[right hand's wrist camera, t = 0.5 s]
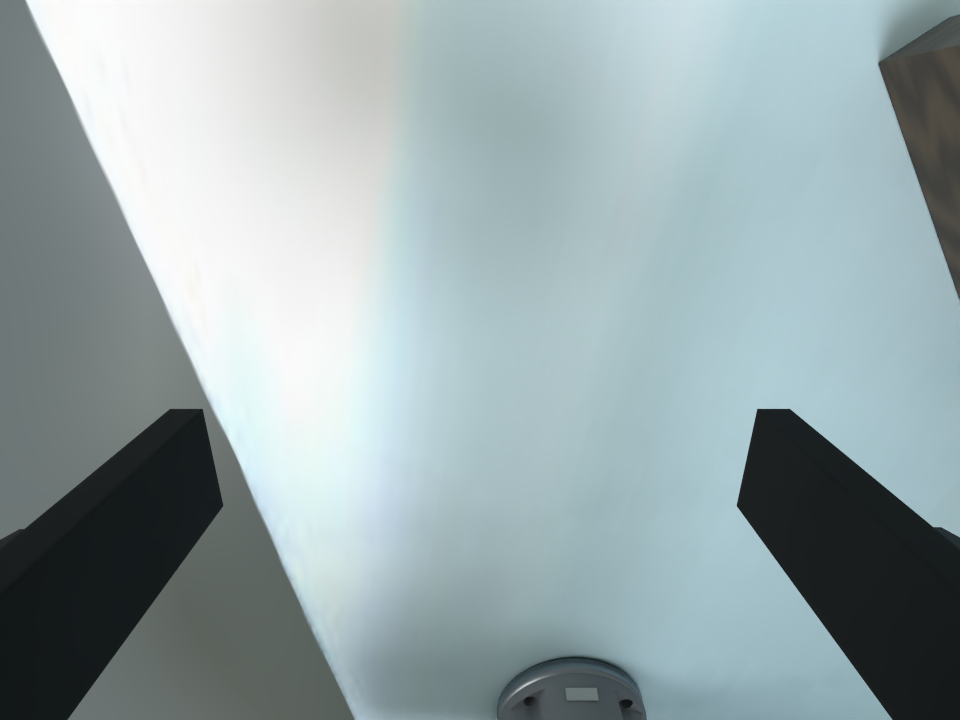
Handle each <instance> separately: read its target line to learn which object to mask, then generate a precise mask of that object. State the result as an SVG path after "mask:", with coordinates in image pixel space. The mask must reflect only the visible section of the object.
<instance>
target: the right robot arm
mask: <svg viewBox="0 0 960 720" xmlns="http://www.w3.org/2000/svg"><path fill="white" fill-rule="evenodd" d="M222 507H223V502H222V498H221V493H220V488H219V484H218V479H217V474H216V470H215V465H214V460H213V456H212V451H211V446H210V442H209V437H208V432H207V427H206V423H205V418H204V413H203V409H170V410H168V411H167V412H166V413H165V414H164V415H162V416H161V417H160V418H159V419H158V420H156V421H155V422H154V423H153V424H151V425H150V426H149V427H148V428H147V429H145V430H144V431H143V432H142V433H141V434H139V435H138V436H137V437H136V438H134V439H133V440H132V441H131V442H130V443H128V444H127V445H126V446H125V447H124V448H122V449H121V450H120V451H119V452H117V453H116V454H115V455H114V456H113V457H111V458H110V459H109V460H108V461H107V462H105V463H104V464H103V465H102V466H101V467H99V468H98V469H97V470H96V471H94V472H93V473H92V474H91V475H90V476H88V477H87V478H86V479H85V480H84V481H82V482H81V483H80V484H79V485H78V486H76V487H75V488H74V489H73V490H71V491H70V492H69V493H68V494H67V495H65V496H64V497H63V498H62V499H61V500H59V501H58V502H57V503H56V504H54V505H53V506H52V507H51V508H50V509H48V510H47V511H46V512H45V513H43V514H42V515H41V516H40V517H39V518H37V519H36V520H35V521H34V522H33V523H31V524H30V525H29V526H28V527H27V528H25V529H19V530H17V531H16V532H14V533H12V534H10V535H8V536H7V537H5V538H3V539H1V540H0V720H67V719H68V718H69V717H70V715H71V714H72V713H73V711H74V710H75V709H76V707H77V706H78V704H79V703H80V702H81V700H82V699H83V697H84V696H85V695H86V693H87V692H88V691H89V689H90V688H91V687H92V685H93V684H94V682H95V681H96V680H97V678H98V677H99V676H100V674H101V673H102V671H103V670H104V669H105V667H106V666H107V665H108V663H109V662H110V660H111V659H112V658H113V656H114V655H115V654H116V652H117V651H118V649H119V648H120V647H121V645H122V644H123V643H124V641H125V640H126V639H127V637H128V636H129V634H130V633H131V632H132V630H133V629H134V627H135V626H136V625H137V623H138V622H139V621H140V619H141V618H142V617H143V615H144V614H145V613H146V611H147V610H148V608H149V607H150V606H151V604H152V603H153V602H154V600H155V599H156V597H157V596H158V595H159V593H160V592H161V591H162V589H163V588H164V586H165V585H166V584H167V582H168V581H169V579H170V578H171V577H172V575H173V574H174V573H175V571H176V570H177V569H178V567H179V566H180V564H181V563H182V562H183V560H184V559H185V558H186V556H187V555H188V553H189V552H190V551H191V549H192V548H193V547H194V545H195V544H196V542H197V541H198V540H199V538H200V537H201V536H202V534H203V533H204V532H205V530H206V529H207V527H208V526H209V525H210V523H211V522H212V521H213V519H214V518H215V516H216V515H217V514H218V512H219V511H220V510H221V508H222ZM737 507H738V508H739V510H740V511H741V512H742V514H743V515H744V516H745V518H746V519H747V521H748V522H749V523H750V525H751V526H752V527H753V529H754V530H755V532H756V533H757V534H758V536H759V537H760V538H761V540H762V541H763V543H764V544H765V545H766V547H767V548H768V549H769V551H770V552H771V554H772V555H773V556H774V558H775V559H776V560H777V562H778V563H779V564H780V566H781V567H782V569H783V570H784V571H785V573H786V574H787V575H788V577H789V578H790V580H791V581H792V582H793V584H794V585H795V586H796V588H797V589H798V591H799V592H800V593H801V595H802V596H803V597H804V599H805V600H806V602H807V603H808V604H809V606H810V607H811V608H812V610H813V611H814V613H815V614H816V615H817V617H818V618H819V619H820V621H821V622H822V623H823V625H824V626H825V628H826V629H827V630H828V632H829V633H830V634H831V636H832V637H833V639H834V640H835V641H836V643H837V644H838V645H839V647H840V648H841V650H842V651H843V652H844V654H845V655H846V656H847V658H848V659H849V661H850V662H851V663H852V665H853V666H854V667H855V669H856V670H857V671H858V673H859V674H860V676H861V677H862V678H863V680H864V681H865V682H866V684H867V685H868V687H869V688H870V689H871V691H872V692H873V693H874V695H875V696H876V698H877V699H878V700H879V702H880V703H881V704H882V706H883V707H884V709H885V710H886V711H887V713H888V714H889V715H890V717H891V718H892V720H960V537H958V536H956V535H954V534H952V533H950V532H949V531H947V530H945V529H943V528H941V527H932V526H931V525H930V524H929V523H927V522H926V521H925V520H924V519H923V518H921V517H920V516H919V515H918V514H917V513H915V512H914V511H913V510H912V509H910V508H909V507H908V506H907V505H906V504H904V503H903V502H902V501H901V500H900V499H898V498H897V497H896V496H895V495H893V494H892V493H891V492H890V491H889V490H887V489H886V488H885V487H884V486H883V485H881V484H880V483H879V482H878V481H876V480H875V479H874V478H873V477H872V476H870V475H869V474H868V473H867V472H866V471H864V470H863V469H862V468H861V467H859V466H858V465H857V464H856V463H855V462H853V461H852V460H851V459H850V458H849V457H847V456H846V455H845V454H844V453H843V452H841V451H840V450H839V449H838V448H836V447H835V446H834V445H833V444H832V443H830V442H829V441H828V440H827V439H826V438H824V437H823V436H822V435H821V434H819V433H818V432H817V431H816V430H815V429H813V428H812V427H811V426H810V425H809V424H807V423H806V422H805V421H804V420H802V419H801V418H800V417H799V416H798V415H796V414H795V413H794V412H793V411H792V410H790V409H757V413H756V418H755V423H754V427H753V432H752V437H751V441H750V446H749V451H748V456H747V460H746V465H745V470H744V474H743V479H742V484H741V488H740V493H739V498H738V502H737ZM497 720H646V712H645V708H644V705H643V701H642V698H641V695H640V692H639V690H638V688H637V686H636V684H635V683H634V682H633V681H632V679H631V678H629V677H628V676H627V675H626V674H625V673H623V672H622V671H620V670H619V669H617V668H615V667H613V666H611V665H608V664H606V663H603V662H599V661H595V660H589V659H579V658H569V659H559V660H553V661H549V662H545V663H542V664H539V665H536V666H534V667H532V668H529V669H527V670H526V671H524V672H522V673H521V674H519V675H518V676H517V677H515V678H514V679H513V680H512V681H511V682H510V683H509V684H508V685H507V686H506V688H505V689H504V691H503V692H502V694H501V696H500V698H499V702H498V707H497Z"/></svg>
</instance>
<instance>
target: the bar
mask: <svg viewBox="0 0 960 720" xmlns="http://www.w3.org/2000/svg"><path fill="white" fill-rule="evenodd" d="M879 66H880V69H881V72H882V75H883V78H884V81H885V84H886V87H887V90H888V93H889V95H890V98H891V101H892V104H893V107H894V110H895V113H896V116H897V119H898V121H899V124H900V127H901V130H902V133H903V136H904V139H905V142H906V145H907V148H908V150H909V153H910V156H911V159H912V162H913V165H914V168H915V171H916V174H917V177H918V179H919V182H920V185H921V188H922V191H923V194H924V197H925V200H926V203H927V205H928V208H929V211H930V214H931V217H932V220H933V223H934V226H935V229H936V232H937V234H938V237H939V240H940V243H941V246H942V249H943V252H944V255H945V258H946V261H947V263H948V266H949V269H950V272H951V275H952V278H953V281H954V284H955V287H956V289H957V292H958V295H959V298H960V15H956V16H953V17H949V18H948V19H946V20H945V21H943V22H942V23H940V24H938V25H937V26H935V27H934V28H932V29H931V30H929V31H928V32H926V33H924V34H923V35H921V36H920V37H918V38H917V39H915V40H914V41H912V42H911V43H909V44H907V45H906V46H904V47H903V48H901V49H900V50H898V51H897V52H895V53H893V54H892V55H890V56H889V57H887V58H886V59H884V60H883V61H881V62H880V63H879Z"/></svg>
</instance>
